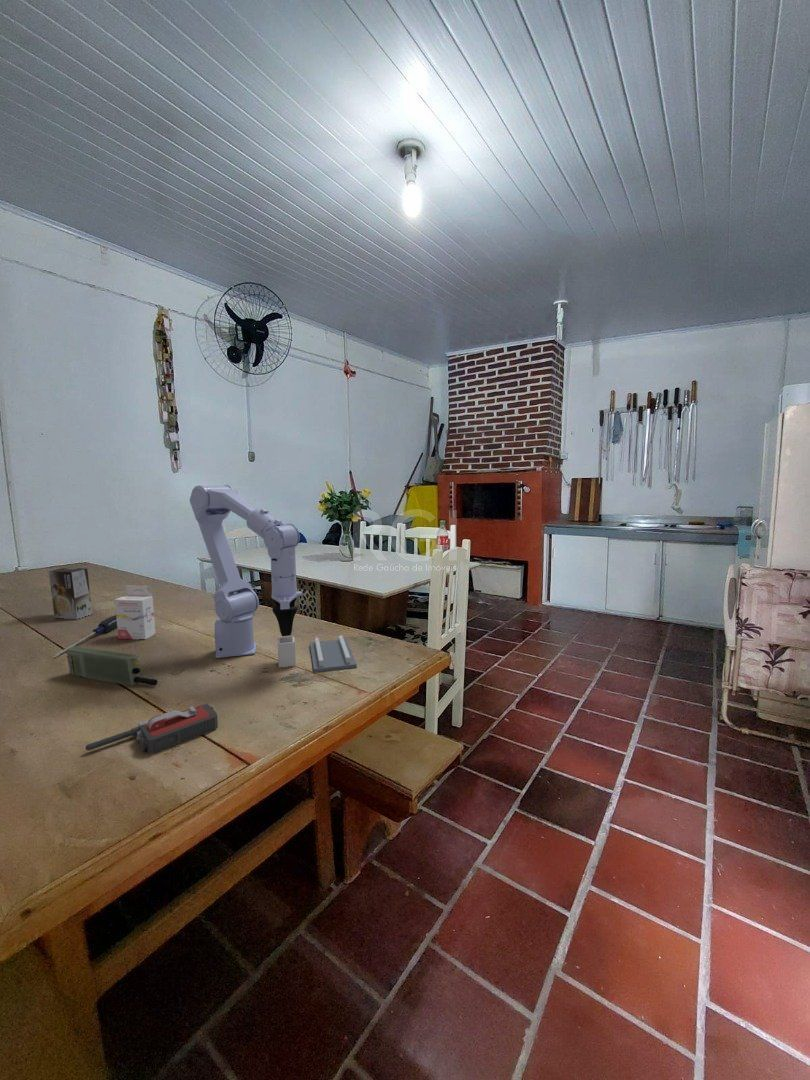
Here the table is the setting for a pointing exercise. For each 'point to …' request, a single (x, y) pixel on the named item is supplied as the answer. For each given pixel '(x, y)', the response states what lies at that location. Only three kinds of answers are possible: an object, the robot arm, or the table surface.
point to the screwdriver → (97, 631)
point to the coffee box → (70, 593)
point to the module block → (286, 652)
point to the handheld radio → (106, 666)
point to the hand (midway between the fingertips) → (286, 630)
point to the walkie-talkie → (168, 729)
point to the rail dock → (331, 655)
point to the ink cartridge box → (135, 613)
